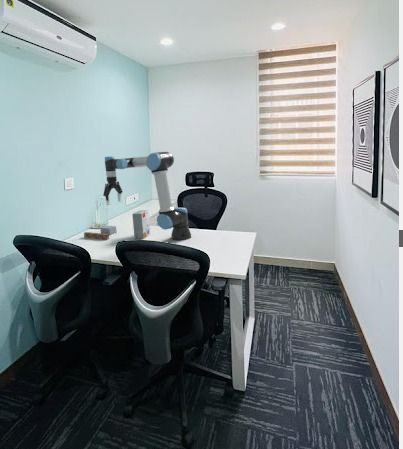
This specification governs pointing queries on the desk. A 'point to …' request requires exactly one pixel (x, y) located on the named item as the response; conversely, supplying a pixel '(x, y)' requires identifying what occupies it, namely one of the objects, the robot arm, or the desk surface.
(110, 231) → the slate block
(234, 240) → the desk surface
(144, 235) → the hard drive box
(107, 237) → the walnut stop board
